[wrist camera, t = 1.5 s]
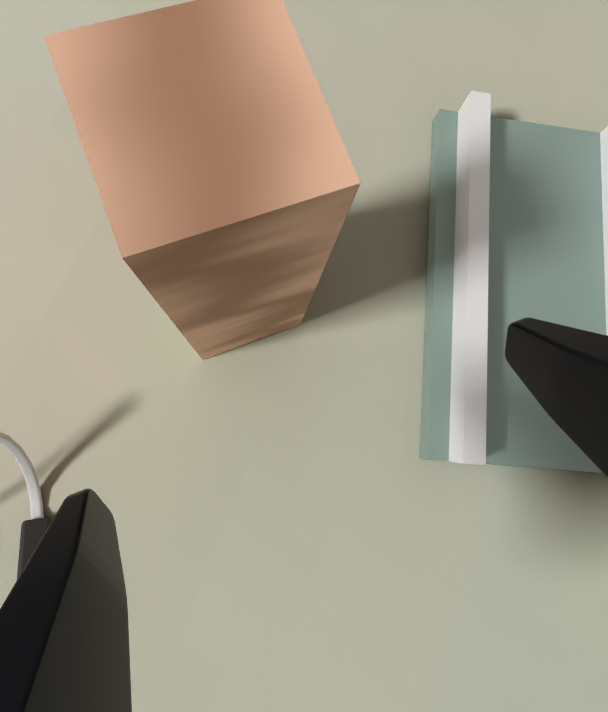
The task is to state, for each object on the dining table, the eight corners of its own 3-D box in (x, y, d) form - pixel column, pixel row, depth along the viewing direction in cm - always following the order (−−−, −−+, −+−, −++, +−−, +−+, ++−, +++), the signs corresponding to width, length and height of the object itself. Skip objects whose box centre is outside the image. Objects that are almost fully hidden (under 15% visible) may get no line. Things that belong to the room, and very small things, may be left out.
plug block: (264, 233, 23) (274, -18, 10) (300, 324, 22) (360, 183, 9) (167, 264, 22) (44, 35, 9) (202, 359, 21) (122, 258, 9)
